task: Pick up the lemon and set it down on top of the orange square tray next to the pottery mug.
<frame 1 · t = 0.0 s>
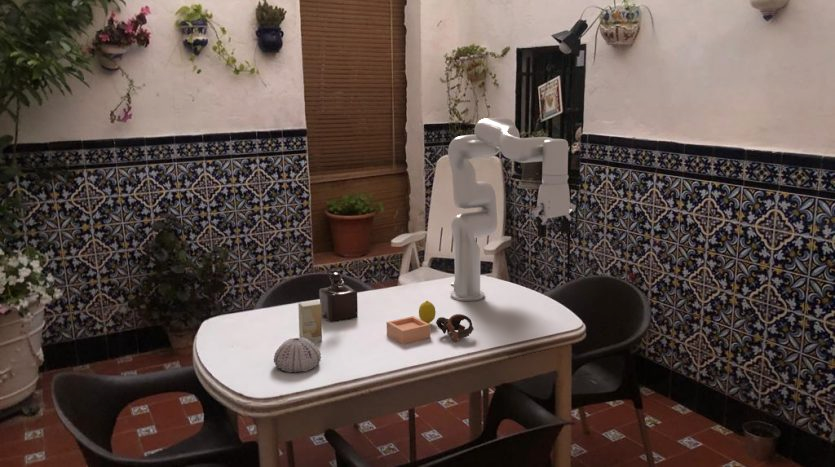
hand: (553, 234, 211), 31 cm above the table, tool pointing down, fingers open, 9 cm apart
orange square tray: (408, 335, 215), on the table
sea urchin shell: (298, 366, 193), on the table
pottery mug: (454, 337, 214), on the table
lemon: (427, 324, 225), on the table
skincare box: (311, 341, 212), on the table
dark square decanter: (340, 318, 233), on the table
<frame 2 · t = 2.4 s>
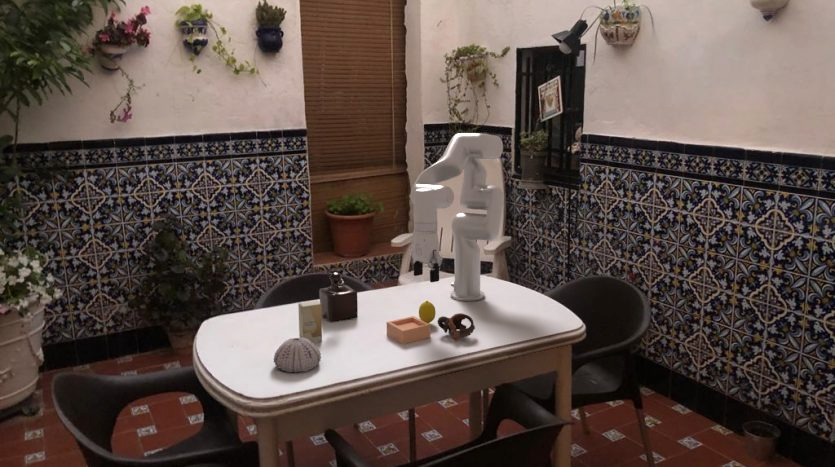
hand: (426, 278, 222), 16 cm above the table, tool pointing down, fingers open, 9 cm apart
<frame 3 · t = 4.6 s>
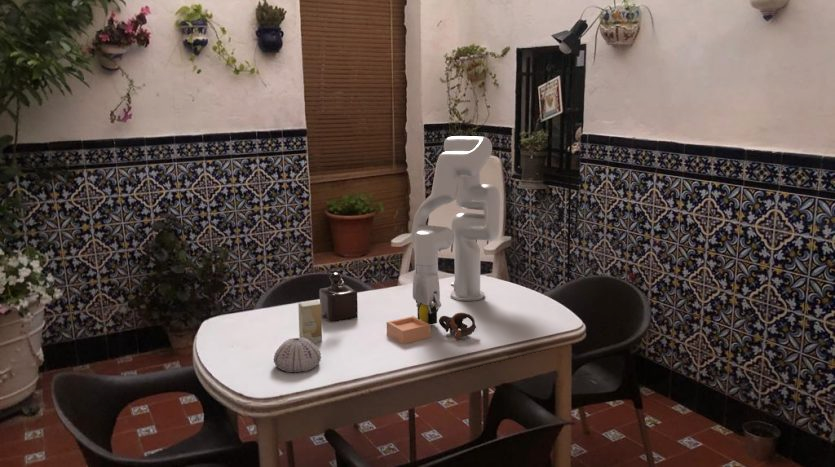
hand: (427, 320, 225), 1 cm above the table, tool pointing down, fingers closed on lemon, 5 cm apart
lemon: (427, 324, 225), on the table, touching gripper
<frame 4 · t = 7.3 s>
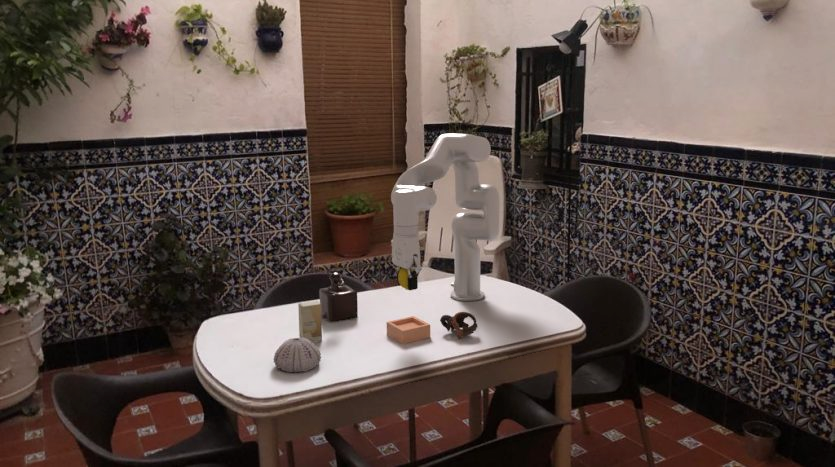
hand: (407, 286, 211), 16 cm above the table, tool pointing down, fingers closed on lemon, 5 cm apart
lemon: (407, 290, 212), point 15 cm above the table, touching gripper
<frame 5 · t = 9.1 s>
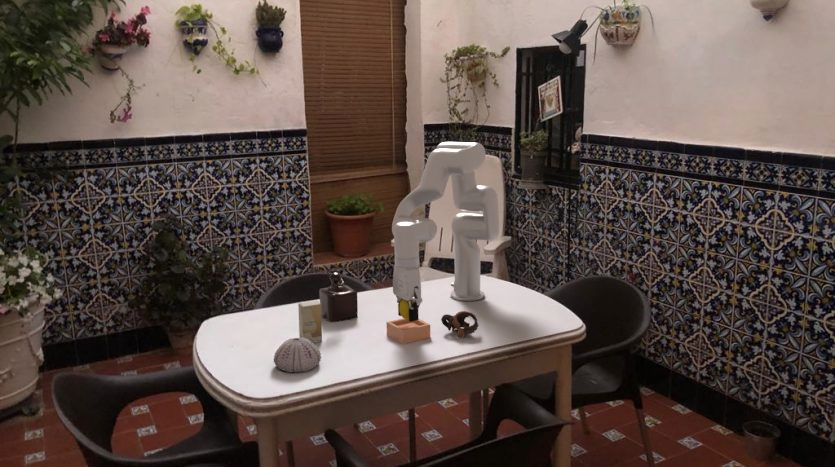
hand: (408, 317, 214), 6 cm above the table, tool pointing down, fingers closed on lemon, 5 cm apart
lemon: (408, 321, 214), point 5 cm above the table, touching gripper
when the fingers open (6 cm above the table, at t = 9.8 s): lemon drops 2 cm, resting on orange square tray.
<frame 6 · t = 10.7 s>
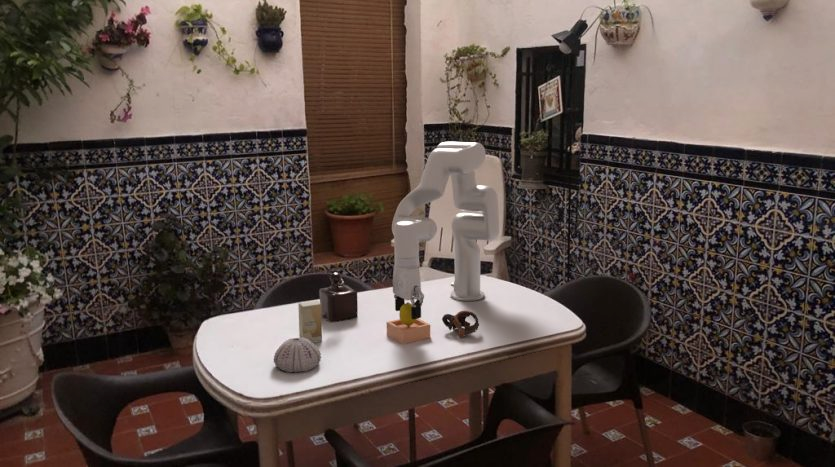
hand: (408, 314, 213), 7 cm above the table, tool pointing down, fingers open, 9 cm apart
lemon: (408, 327, 214), point 3 cm above the table, touching orange square tray
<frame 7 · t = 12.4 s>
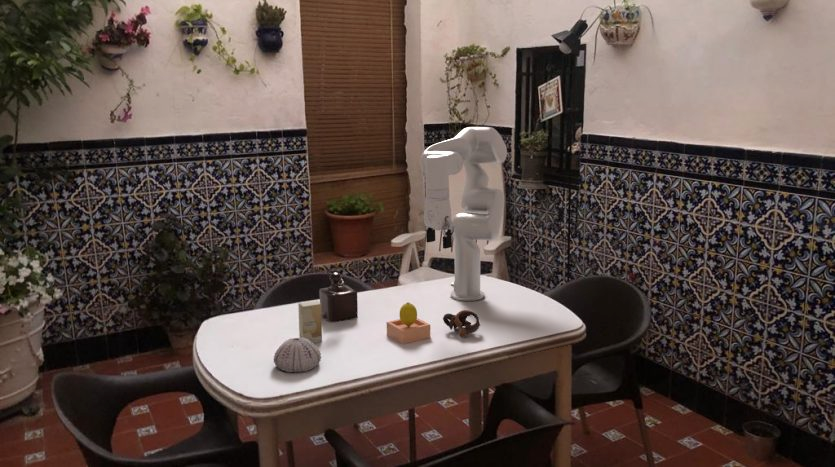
hand: (439, 244, 224), 26 cm above the table, tool pointing down, fingers open, 9 cm apart
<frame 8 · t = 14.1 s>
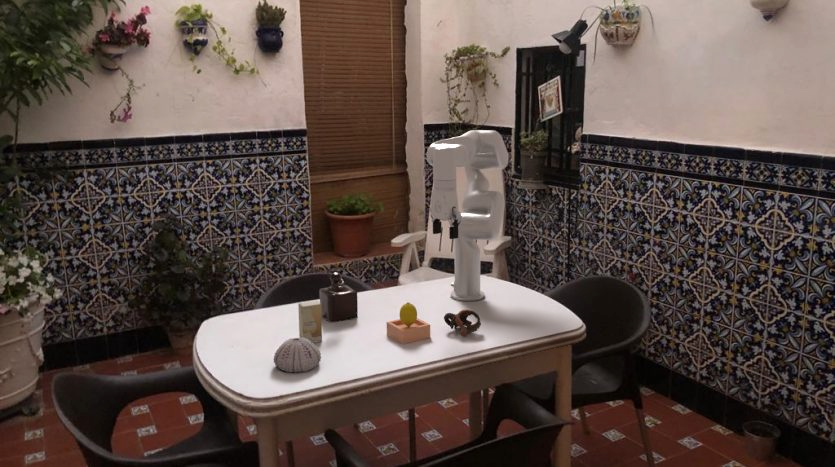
hand: (445, 236, 226), 28 cm above the table, tool pointing down, fingers open, 9 cm apart
at the end: lemon inside the target area on the orange square tray (0.1 cm from its centre), point 2.8 cm above the orange square tray's base; lemon touching orange square tray; the gripper is holding nothing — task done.
